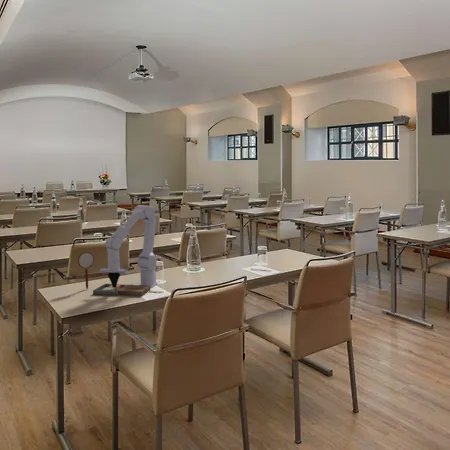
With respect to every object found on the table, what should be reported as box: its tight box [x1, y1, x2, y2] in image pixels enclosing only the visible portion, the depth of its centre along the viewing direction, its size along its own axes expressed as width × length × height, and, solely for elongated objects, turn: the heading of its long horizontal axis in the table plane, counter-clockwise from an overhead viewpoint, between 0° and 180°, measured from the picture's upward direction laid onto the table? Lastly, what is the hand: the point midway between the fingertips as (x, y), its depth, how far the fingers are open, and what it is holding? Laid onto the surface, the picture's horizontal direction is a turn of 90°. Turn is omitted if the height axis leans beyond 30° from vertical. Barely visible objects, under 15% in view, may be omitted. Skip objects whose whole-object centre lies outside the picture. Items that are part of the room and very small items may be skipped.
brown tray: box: [117, 284, 151, 298], centre depth 252 cm, size 12×13×2 cm
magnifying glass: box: [77, 251, 95, 290], centre depth 258 cm, size 9×2×20 cm, turn 126°
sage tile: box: [102, 287, 114, 291], centre depth 251 cm, size 4×4×2 cm
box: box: [92, 283, 127, 297], centre depth 255 cm, size 14×13×2 cm
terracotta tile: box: [109, 285, 121, 291], centre depth 257 cm, size 4×4×2 cm
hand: (114, 287), depth 251 cm, fingers closed
